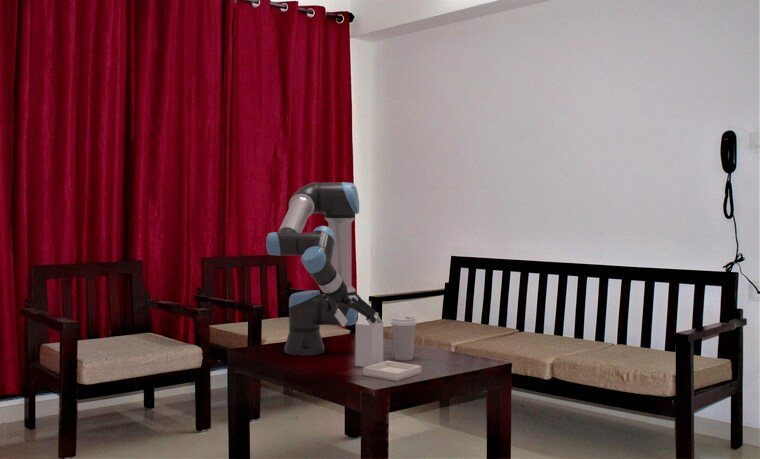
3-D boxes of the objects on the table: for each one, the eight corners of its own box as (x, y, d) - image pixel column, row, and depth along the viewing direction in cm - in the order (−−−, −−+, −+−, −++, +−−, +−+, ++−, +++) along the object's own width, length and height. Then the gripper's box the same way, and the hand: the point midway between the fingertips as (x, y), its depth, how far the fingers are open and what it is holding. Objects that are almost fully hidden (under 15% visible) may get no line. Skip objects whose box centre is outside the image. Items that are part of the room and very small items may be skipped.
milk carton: (372, 368, 256) (372, 313, 255) (355, 366, 259) (355, 312, 259) (383, 365, 262) (383, 311, 261) (366, 362, 265) (366, 309, 265)
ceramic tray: (362, 375, 246) (362, 367, 246) (387, 367, 257) (387, 360, 257) (397, 381, 238) (397, 373, 238) (421, 373, 249) (421, 365, 249)
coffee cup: (414, 361, 267) (414, 320, 266) (388, 360, 269) (388, 319, 268) (418, 356, 276) (418, 316, 276) (393, 355, 278) (393, 315, 278)
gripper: (298, 291, 247) (327, 330, 260) (357, 297, 233) (385, 338, 245) (309, 274, 252) (337, 313, 264) (367, 279, 237) (394, 320, 249)
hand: (360, 325), depth 255 cm, fingers open, 13 cm apart
